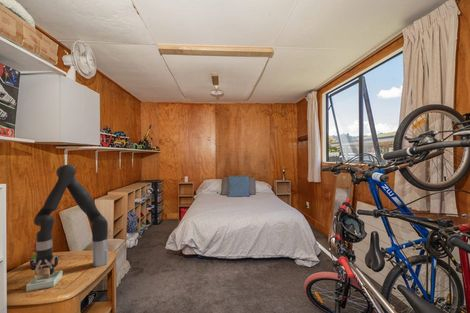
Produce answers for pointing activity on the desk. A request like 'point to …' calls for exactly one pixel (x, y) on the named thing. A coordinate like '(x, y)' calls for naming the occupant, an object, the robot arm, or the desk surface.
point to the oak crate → (43, 272)
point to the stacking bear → (35, 254)
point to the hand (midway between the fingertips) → (44, 274)
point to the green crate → (44, 282)
